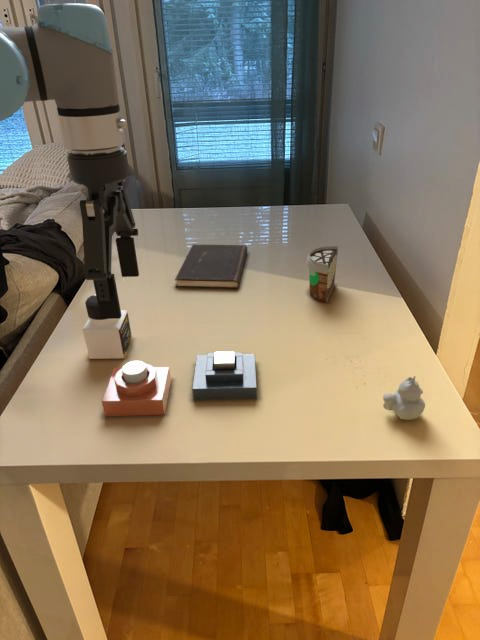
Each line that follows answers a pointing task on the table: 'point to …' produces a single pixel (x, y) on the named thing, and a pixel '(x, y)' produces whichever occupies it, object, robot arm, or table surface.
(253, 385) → the push button base
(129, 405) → the orange button base
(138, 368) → the white round push button
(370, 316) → the table surface
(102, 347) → the medicine bottle
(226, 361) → the pump square
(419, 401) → the white lumpy figurine
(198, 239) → the table surface
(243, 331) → the table surface
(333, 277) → the food container
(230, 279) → the hardcover book
